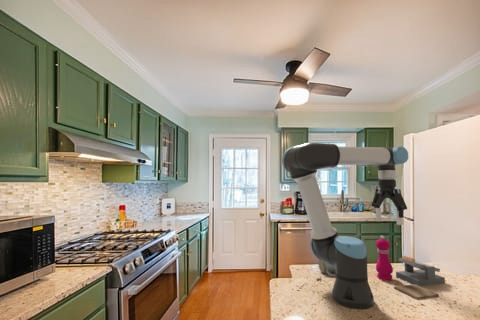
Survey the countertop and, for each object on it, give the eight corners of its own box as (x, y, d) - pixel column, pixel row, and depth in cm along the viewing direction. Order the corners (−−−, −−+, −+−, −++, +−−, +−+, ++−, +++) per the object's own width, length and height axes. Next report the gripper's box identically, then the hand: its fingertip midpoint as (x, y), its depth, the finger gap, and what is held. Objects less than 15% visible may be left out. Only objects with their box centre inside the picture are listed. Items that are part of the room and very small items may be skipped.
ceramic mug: (317, 270, 138) (317, 255, 139) (332, 269, 140) (331, 254, 140) (328, 278, 128) (327, 262, 128) (343, 276, 129) (343, 260, 130)
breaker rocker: (414, 268, 118) (415, 259, 119) (398, 262, 127) (399, 254, 128) (439, 274, 121) (440, 265, 122) (421, 268, 130) (422, 260, 131)
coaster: (416, 299, 103) (416, 297, 103) (394, 288, 114) (394, 286, 114) (438, 296, 106) (438, 294, 106) (415, 286, 117) (414, 284, 117)
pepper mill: (396, 281, 123) (394, 237, 125) (381, 281, 123) (378, 237, 125) (388, 275, 130) (385, 234, 132) (373, 275, 130) (371, 234, 132)
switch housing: (418, 286, 116) (417, 268, 117) (395, 276, 128) (394, 260, 129) (445, 283, 119) (444, 265, 120) (421, 274, 132) (419, 258, 132)
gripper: (414, 178, 120) (417, 226, 117) (375, 179, 144) (377, 219, 142) (400, 178, 118) (403, 226, 116) (363, 179, 142) (364, 219, 140)
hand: (388, 222), depth 129 cm, fingers open, 13 cm apart
